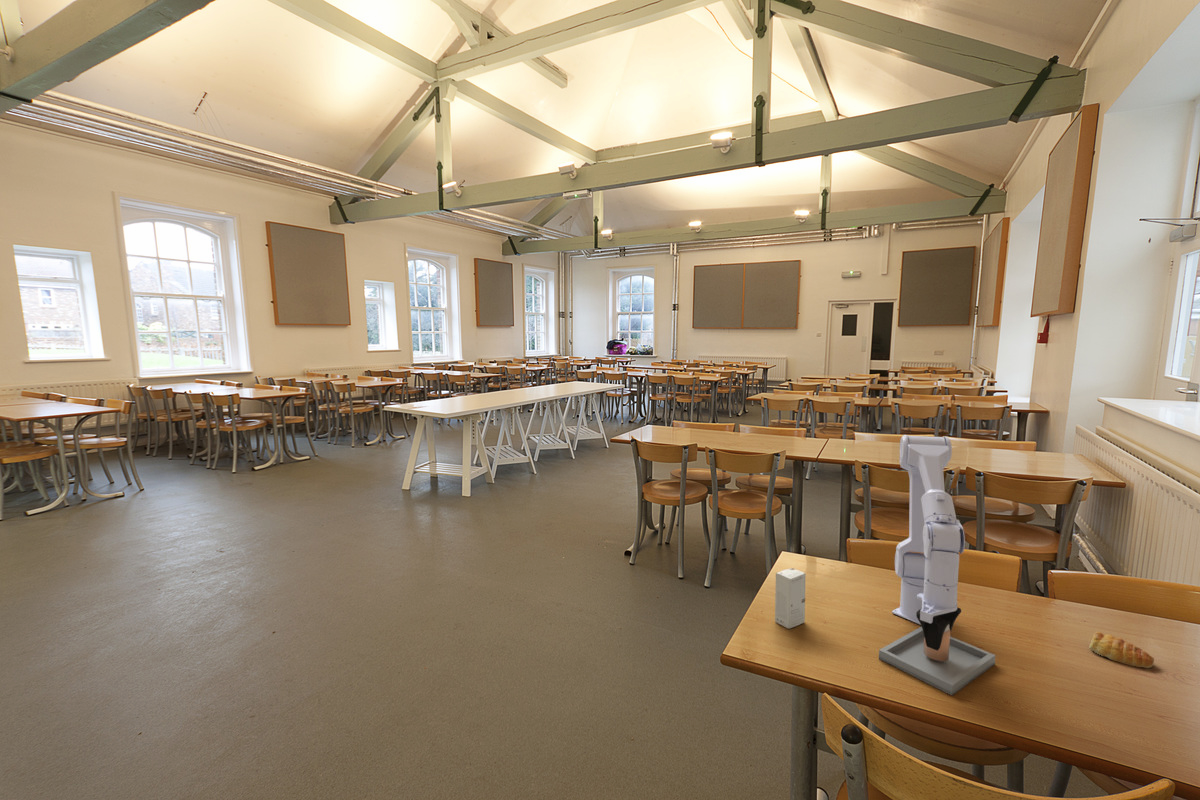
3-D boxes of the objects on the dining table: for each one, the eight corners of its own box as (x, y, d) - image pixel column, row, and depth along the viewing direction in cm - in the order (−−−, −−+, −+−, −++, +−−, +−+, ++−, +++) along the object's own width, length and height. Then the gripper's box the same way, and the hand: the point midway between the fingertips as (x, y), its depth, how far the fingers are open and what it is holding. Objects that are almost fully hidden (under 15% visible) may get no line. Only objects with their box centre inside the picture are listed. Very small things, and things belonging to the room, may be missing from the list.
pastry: (1155, 662, 109) (1157, 645, 108) (1149, 675, 105) (1151, 657, 104) (1094, 642, 116) (1095, 626, 116) (1086, 653, 112) (1088, 636, 112)
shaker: (927, 646, 112) (929, 615, 112) (951, 655, 109) (953, 623, 108) (920, 654, 109) (922, 622, 109) (944, 663, 106) (946, 630, 105)
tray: (923, 633, 120) (923, 625, 120) (994, 664, 108) (995, 655, 108) (878, 658, 110) (879, 649, 110) (951, 695, 99) (952, 685, 98)
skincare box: (789, 629, 122) (790, 579, 121) (773, 621, 126) (774, 572, 125) (805, 622, 126) (807, 573, 124) (789, 614, 129) (791, 566, 128)
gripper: (932, 565, 115) (929, 624, 117) (904, 584, 106) (901, 647, 108) (970, 575, 110) (966, 637, 111) (944, 596, 101) (940, 663, 102)
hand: (937, 643), depth 109 cm, fingers closed on shaker, 4 cm apart
